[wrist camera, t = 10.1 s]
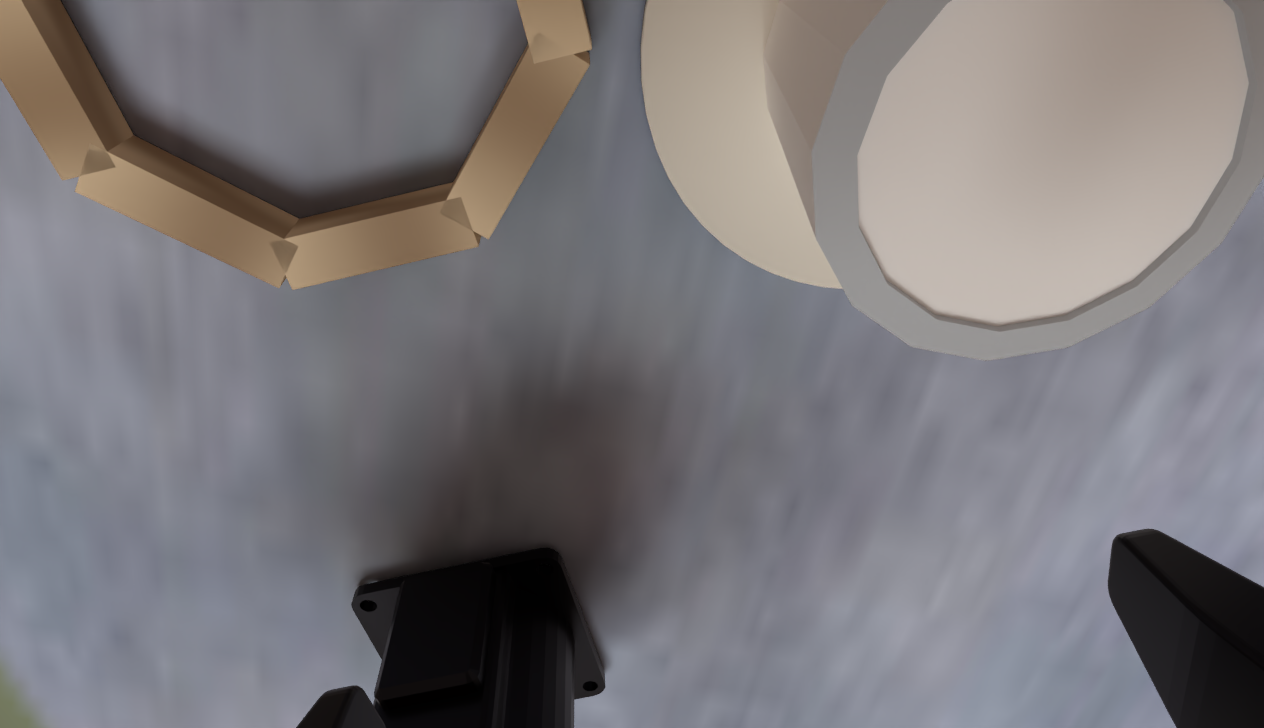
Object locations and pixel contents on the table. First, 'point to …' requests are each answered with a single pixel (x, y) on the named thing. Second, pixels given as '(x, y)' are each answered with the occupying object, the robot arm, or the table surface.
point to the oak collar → (249, 227)
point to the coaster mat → (726, 132)
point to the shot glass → (1016, 156)
